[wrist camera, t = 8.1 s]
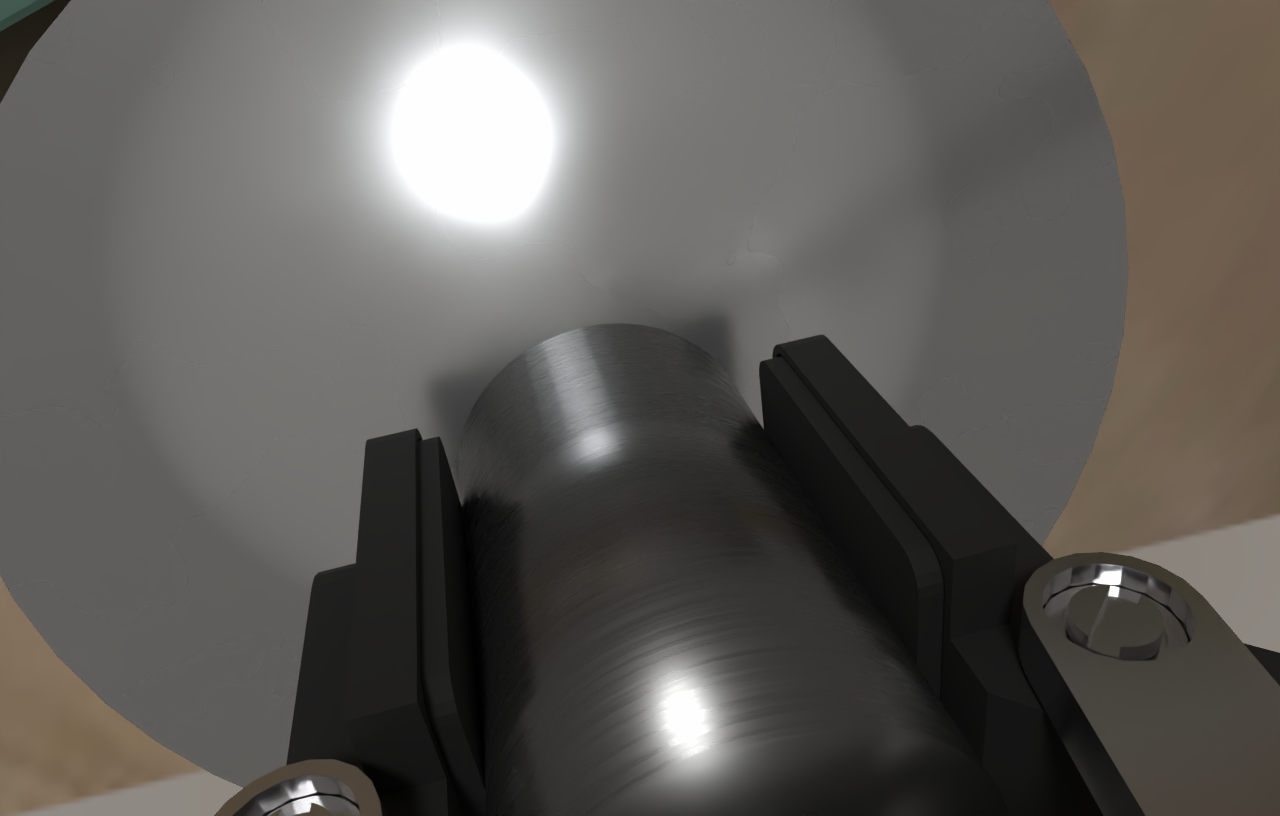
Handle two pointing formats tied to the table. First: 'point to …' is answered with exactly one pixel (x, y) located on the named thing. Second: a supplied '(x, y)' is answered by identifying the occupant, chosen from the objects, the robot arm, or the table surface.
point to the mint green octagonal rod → (18, 10)
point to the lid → (540, 358)
